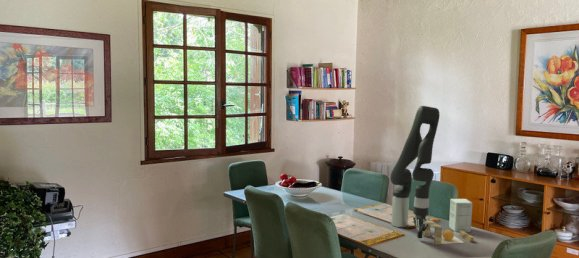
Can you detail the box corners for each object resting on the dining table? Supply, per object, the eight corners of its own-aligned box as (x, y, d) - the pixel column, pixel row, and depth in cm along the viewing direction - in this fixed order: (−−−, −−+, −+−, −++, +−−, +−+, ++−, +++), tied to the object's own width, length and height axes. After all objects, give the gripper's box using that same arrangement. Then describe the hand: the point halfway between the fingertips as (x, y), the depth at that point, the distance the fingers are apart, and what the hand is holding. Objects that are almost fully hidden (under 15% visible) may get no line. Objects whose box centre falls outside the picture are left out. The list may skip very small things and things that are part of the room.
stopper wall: (459, 235, 249) (459, 230, 249) (462, 235, 249) (462, 230, 249) (470, 242, 238) (470, 237, 238) (473, 242, 238) (474, 237, 238)
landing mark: (431, 236, 247) (431, 235, 247) (452, 235, 249) (452, 234, 249) (442, 243, 235) (442, 243, 235) (463, 242, 237) (464, 242, 237)
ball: (440, 238, 243) (441, 228, 242) (449, 237, 244) (450, 227, 243) (446, 242, 237) (447, 232, 236) (455, 241, 239) (456, 232, 238)
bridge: (422, 235, 247) (423, 219, 246) (428, 235, 248) (428, 218, 247) (435, 244, 233) (436, 227, 232) (441, 244, 234) (442, 227, 233)
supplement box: (464, 226, 265) (466, 198, 263) (471, 232, 255) (473, 202, 254) (448, 226, 264) (450, 198, 262) (454, 231, 255) (456, 202, 253)
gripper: (434, 208, 231) (432, 241, 233) (422, 202, 244) (420, 233, 246) (420, 209, 230) (418, 242, 232) (409, 202, 243) (407, 233, 245)
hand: (419, 237), depth 239 cm, fingers closed
